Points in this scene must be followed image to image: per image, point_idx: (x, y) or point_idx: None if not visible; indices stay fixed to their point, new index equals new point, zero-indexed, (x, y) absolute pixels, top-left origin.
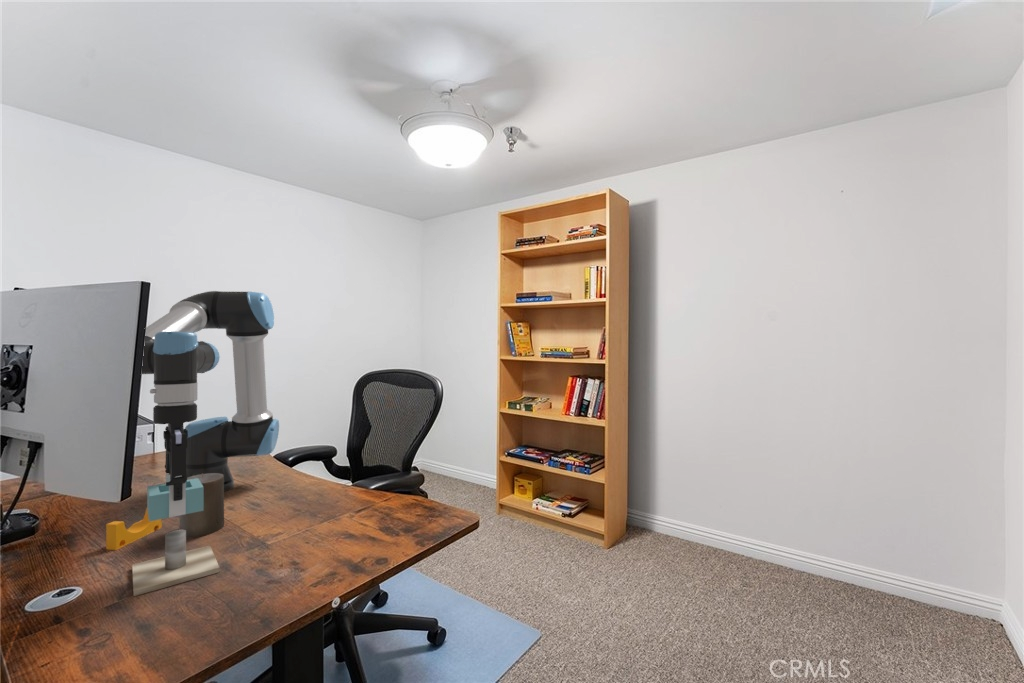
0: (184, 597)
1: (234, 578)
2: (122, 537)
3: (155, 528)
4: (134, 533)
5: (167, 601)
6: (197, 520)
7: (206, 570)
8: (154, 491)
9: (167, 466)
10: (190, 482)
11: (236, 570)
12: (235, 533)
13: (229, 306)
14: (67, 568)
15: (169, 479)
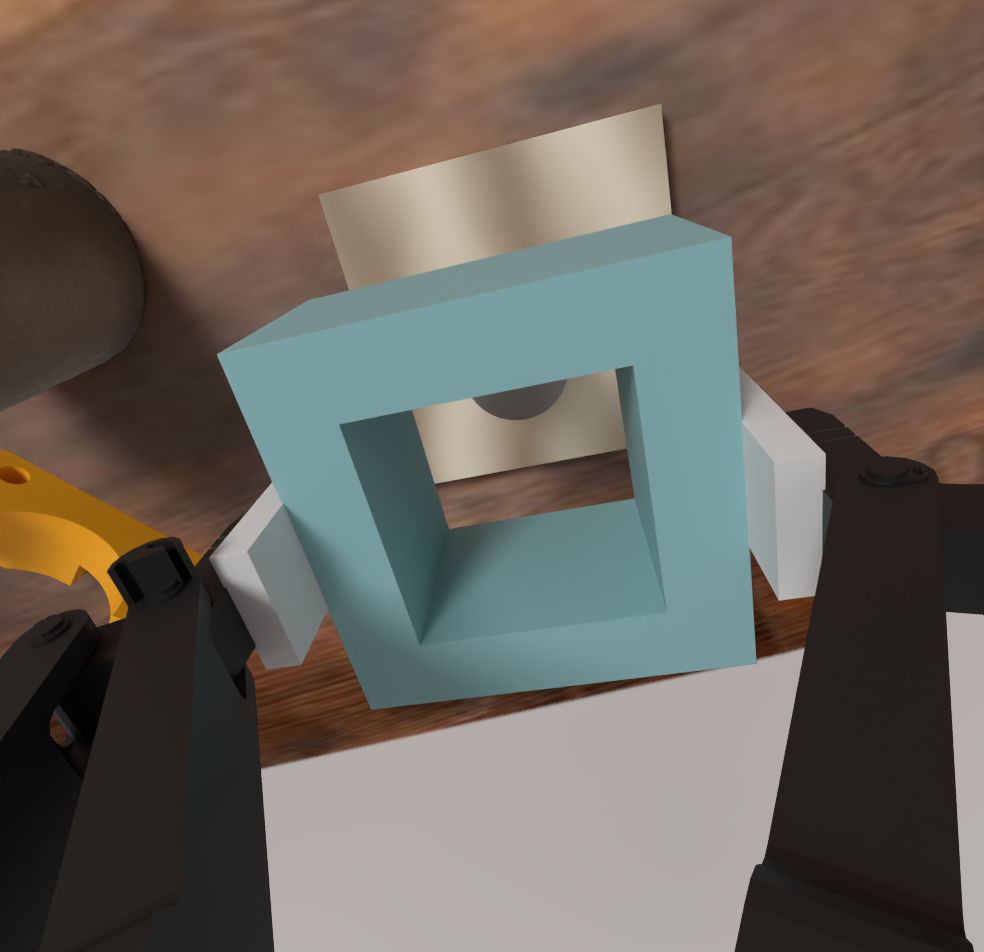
0: (836, 240)
1: (788, 10)
2: None
3: (5, 477)
4: (111, 543)
5: (825, 302)
6: (83, 295)
7: (661, 171)
8: (600, 650)
9: (255, 733)
10: (402, 409)
11: (688, 8)
12: (119, 65)
13: None
14: (314, 653)
15: (306, 605)
